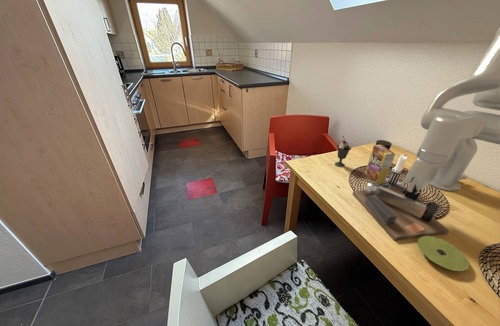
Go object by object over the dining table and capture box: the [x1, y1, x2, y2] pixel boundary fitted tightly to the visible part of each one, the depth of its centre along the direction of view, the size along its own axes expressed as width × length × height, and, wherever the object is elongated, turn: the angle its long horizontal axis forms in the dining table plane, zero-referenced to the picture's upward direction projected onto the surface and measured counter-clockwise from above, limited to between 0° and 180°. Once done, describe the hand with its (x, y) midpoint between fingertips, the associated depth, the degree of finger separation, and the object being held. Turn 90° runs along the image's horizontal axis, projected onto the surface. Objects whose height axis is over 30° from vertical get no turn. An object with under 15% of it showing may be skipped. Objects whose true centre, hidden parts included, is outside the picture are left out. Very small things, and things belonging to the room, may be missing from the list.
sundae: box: [334, 136, 352, 168], centre depth 99 cm, size 7×7×15 cm
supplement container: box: [374, 139, 392, 151], centre depth 104 cm, size 7×7×10 cm
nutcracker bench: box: [352, 186, 450, 241], centre depth 73 cm, size 19×23×5 cm
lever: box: [364, 180, 440, 222], centre depth 72 cm, size 21×4×6 cm, turn 42°
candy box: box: [364, 144, 396, 185], centre depth 88 cm, size 9×4×15 cm, turn 2°
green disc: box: [417, 236, 470, 272], centre depth 58 cm, size 11×11×2 cm
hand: (409, 200), depth 72 cm, fingers closed
